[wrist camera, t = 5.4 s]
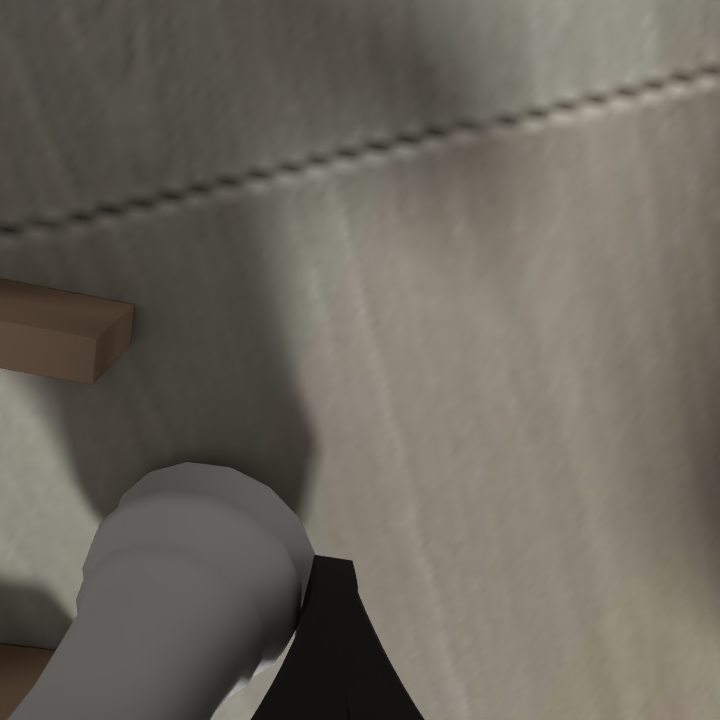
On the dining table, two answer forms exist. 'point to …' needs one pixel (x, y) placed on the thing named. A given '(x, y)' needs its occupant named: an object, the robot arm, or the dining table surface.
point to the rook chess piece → (178, 600)
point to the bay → (63, 361)
